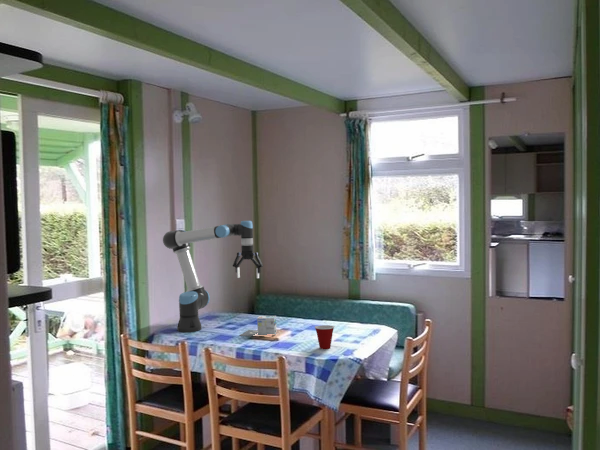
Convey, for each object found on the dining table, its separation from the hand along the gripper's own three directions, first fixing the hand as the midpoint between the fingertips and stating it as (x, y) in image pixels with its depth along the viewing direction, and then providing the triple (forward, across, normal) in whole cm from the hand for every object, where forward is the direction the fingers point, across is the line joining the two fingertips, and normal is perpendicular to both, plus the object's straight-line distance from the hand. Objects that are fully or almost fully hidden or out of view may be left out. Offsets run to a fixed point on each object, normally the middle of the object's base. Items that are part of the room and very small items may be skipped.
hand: (248, 277), depth 334 cm
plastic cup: (+32, +60, -35) cm, 76 cm away
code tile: (+32, +13, -15) cm, 37 cm away
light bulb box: (+32, +19, -16) cm, 40 cm away
